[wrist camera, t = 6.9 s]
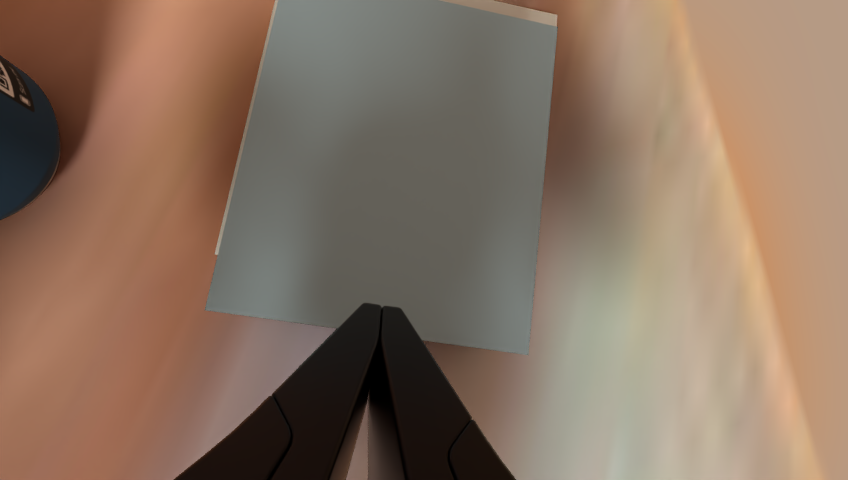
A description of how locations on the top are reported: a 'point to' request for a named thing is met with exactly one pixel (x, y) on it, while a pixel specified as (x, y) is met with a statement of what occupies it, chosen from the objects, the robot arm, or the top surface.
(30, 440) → the top surface
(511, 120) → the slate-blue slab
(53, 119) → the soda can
